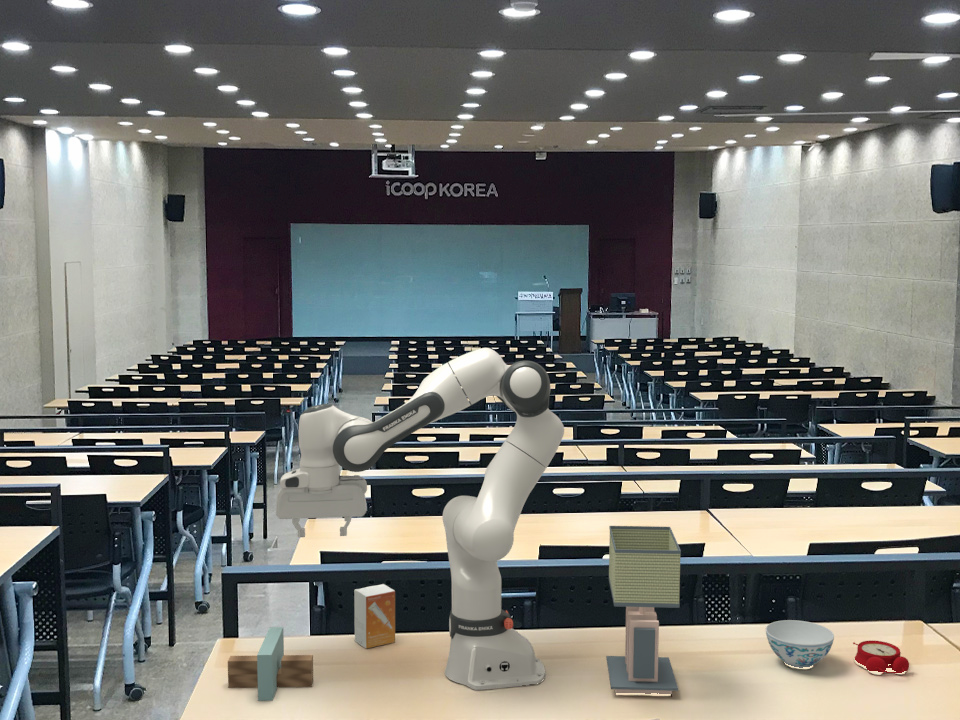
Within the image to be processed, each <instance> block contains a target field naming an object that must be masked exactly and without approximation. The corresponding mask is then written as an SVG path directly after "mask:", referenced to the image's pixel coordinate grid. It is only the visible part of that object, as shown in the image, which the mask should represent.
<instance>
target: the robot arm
mask: <svg viewBox="0 0 960 720" xmlns="http://www.w3.org/2000/svg"><path fill="white" fill-rule="evenodd" d="M549 377H550V376H549V374H548V372H547V371H546V369H545V368H544V367H543V366H542V365H540V364H539V363H537V362H535V361H532V360H520V361H516V362H514V363H512V364H511V365H508V364H507V363H506V362H505V361H504V359H503V358H502V356H501V355H500V354H499V353H498V352H497V351H495V350H494V349H492V348H491V347H482V348H477V349H474V350H472V351H469V352H467V353H464V354H462V355H459V356H458V357H455V358H453V359H451V360H449V361H448V362H446V363H444V364H442V365H440V366H438V367H437V368H436V369H435V370H433V371H432V372H431V373H429V374H428V375H427V376H426V377H424V378H423V380H422V381H421V383H420V384H419V386H418V388H417V390H416V391H415V393H414V394H413V395H412V396H411V397H410V398H409V400H408V401H406V402H405V403H404V404H402V405H401V406H399V407H397V408H396V409H395V410H392V411H391V412H389V413H388V414H386V415H384V416H382V417H379V419H377V420H376V421H372V420H370V419H369V418H367V417H362V416H359V415H354V414H351V413H348V412H346V411H343V410H341V409H339V408H338V407H336V406H335V405H333V404H331V403H322V404H320V403H319V404H317V405H313V406H309V407H308V408H306V409H305V410H303V412H301V415H300V417H299V422H298V447H299V450H300V460H299V468H296V469H293V470H291V471H290V470H289V471H287V472H285V473H284V474H283V475H282V476H281V477H280V481H279V483H280V488H279V490H278V493H277V495H276V501H275V516H276V517H277V518H278V519H279V520H292V521H291V522H292V525H293V527H294V528H295V529H296V531H297V538H306V528H305V527H301V525H300V524H299V523H300V520H301V519H323V518H325V519H327V518H343V519H344V522H345V524H344V526H340V527H339V536H340V537H347V536H348V528H349V525H350V524H351V522H352V518H353V517H363V516H365V514H367V500H366V493H367V491H368V484H367V483H368V482H367V480H366V479H365V478H364V477H363V476H361V475H358V474H355V475H341V472H340V471H341V469H340V468H343V469H344V470H346V471H349V472H352V473H353V472H354V473H360V472H365V471H367V470H369V469H371V468H372V467H373V466H374V465H375V464H376V463H377V462H378V461H379V459H380V458H381V457H382V456H383V453H385V451H387V449H389V448H390V447H392V446H393V445H395V444H397V443H399V442H400V441H402V440H403V439H405V438H407V437H408V436H411V435H412V434H414V433H415V432H417V431H418V430H420V429H421V428H423V427H425V426H427V425H430V424H431V423H435V422H436V421H438V420H439V421H440V420H441V419H444V418H446V417H449V416H452V415H455V414H456V413H458V412H460V411H463V410H465V409H466V408H468V407H470V406H471V405H474V404H476V403H478V402H479V401H480V400H483V399H485V398H487V397H492V396H495V397H496V398H498V400H500V402H502V403H503V405H505V406H506V408H508V409H509V410H510V411H511V412H512V413H514V414H516V422H515V425H514V426H513V428H512V430H511V431H510V433H509V434H508V436H507V437H506V439H505V440H504V442H502V444H501V446H500V448H499V449H498V451H497V452H496V454H495V455H494V457H493V458H492V460H491V461H490V462H489V464H488V465H487V466H486V468H485V472H484V478H483V479H484V480H483V482H482V485H481V489H480V490H479V493H478V496H477V497H476V496H472V495H471V496H470V495H458V496H456V497H453V498H452V499H450V500H449V501H448V502H447V503H446V505H445V506H444V508H443V511H442V522H443V523H442V524H443V527H444V533H445V537H446V538H445V542H446V547H447V556H448V562H449V567H450V577H451V610H450V612H449V619H448V620H449V622H448V627H449V637H450V644H449V651H448V657H447V661H446V666H445V668H444V675H445V676H446V678H447V679H449V680H450V681H453V682H455V683H458V684H459V685H460V684H461V685H465V686H467V687H469V688H470V689H472V690H475V691H481V690H482V691H484V690H491V689H504V688H513V687H523V686H522V685H526V686H530V685H529V684H536V685H538V684H537V683H540V682H541V681H542V680H543V679H544V680H545V678H546V668H545V665H544V663H543V662H542V661H541V660H540V658H538V657H536V656H535V650H534V648H533V646H532V643H531V642H530V641H529V639H528V638H527V637H525V635H522V634H521V633H520V632H518V631H517V630H515V629H514V621H513V619H512V617H511V614H510V613H509V611H508V610H506V609H505V610H504V609H502V576H501V573H500V569H499V565H498V562H499V561H500V560H502V559H503V558H505V557H506V556H507V555H508V554H509V553H510V552H511V549H512V548H513V545H514V539H515V538H514V536H515V529H516V526H517V523H518V521H519V518H520V516H521V513H522V510H523V507H524V505H525V503H526V501H527V499H528V497H529V496H530V493H532V491H533V489H534V488H535V486H536V485H537V483H538V481H540V478H541V477H542V476H543V474H544V472H545V471H546V469H547V468H548V466H549V465H550V463H551V461H552V459H553V458H554V456H555V455H556V453H557V451H558V448H559V446H560V444H561V442H562V440H563V437H564V434H565V426H564V424H563V421H561V419H560V417H559V416H558V415H556V414H555V413H554V412H553V411H551V410H550V409H549V406H550V395H551V381H550V378H549ZM544 677H545V678H544ZM544 680H543V681H544ZM543 681H542V682H543ZM542 682H541V683H542ZM541 683H540V684H541Z"/></svg>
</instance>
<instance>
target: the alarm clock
mask: <svg viewBox="0 0 960 720" xmlns="http://www.w3.org/2000/svg"><path fill="white" fill-rule="evenodd" d="M852 644H853V645H856V646H857V647H856V649H857V652H856V654H855V656H854V658H855V660H856V661H857V662H858V663H860V664H862V665H864V666H866V668H867V670H869V671H878V672H886V673H885V674H895V673H902V672H904V671H907V672H908V671H909V668H910V662H909V660H908V658H906V657H904V656H901V654H902V653H901V650H900V648H899V647H898V646H896V645H894V644H893V643H889V642H886V641H881V640H864V641H861V642H859V643H856V642H855V641H853V642H852ZM888 664H891V665H889V666H888ZM886 668H892V670H894V671H896V672H887V671H885V670H886ZM867 670H866V671H867Z"/></svg>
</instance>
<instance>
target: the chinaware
mask: <svg viewBox="0 0 960 720" xmlns="http://www.w3.org/2000/svg"><path fill="white" fill-rule="evenodd" d="M765 634H766V639H767V642H768V644H769V646H770V648H771V650H772V652H773V653H774V654H775V655H776V656H777V657H778V659H781V661H782V662H783V661H784V662H785V663H786V664H788V665H791V666H794V667H799V668H803V667H810V666H812V665H814V666H815V665H816V664H818V663H819V662H821V661H822V660H823V659H825V657H826V656H827V655H828V654H829V652H830V650H831V649H832V646H833V644H834V640H835V634H834V632H833V631H832V630H831V629H829V628H828V627H826V626H824V625H821V624H818V623H815V622H810V621H806V620H805V621H804V620H796V619H795V620H794V619H793V620H792V619H787V620H786V619H784V620H778V621H773V622H771V623H769V624H767V625H766V626H765Z"/></svg>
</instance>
